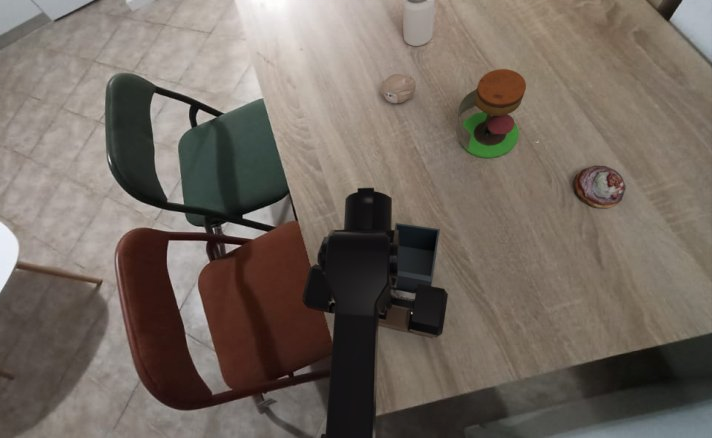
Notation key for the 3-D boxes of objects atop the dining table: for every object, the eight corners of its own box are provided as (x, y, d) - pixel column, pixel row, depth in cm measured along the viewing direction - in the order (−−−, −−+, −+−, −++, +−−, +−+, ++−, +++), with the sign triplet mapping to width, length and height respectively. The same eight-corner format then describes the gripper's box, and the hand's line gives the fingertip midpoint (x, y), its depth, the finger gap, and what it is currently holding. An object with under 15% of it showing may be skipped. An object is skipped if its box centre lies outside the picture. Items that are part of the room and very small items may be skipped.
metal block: (432, 338, 75) (433, 334, 72) (374, 325, 79) (372, 321, 75) (437, 304, 77) (438, 299, 74) (380, 293, 81) (378, 287, 77)
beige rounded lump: (392, 114, 95) (391, 90, 88) (377, 95, 98) (374, 70, 91) (420, 98, 94) (420, 73, 87) (403, 80, 97) (403, 54, 90)
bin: (425, 322, 71) (437, 245, 66) (382, 313, 74) (390, 238, 68) (431, 280, 83) (442, 212, 78) (394, 273, 86) (401, 207, 80)
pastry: (621, 212, 74) (634, 200, 70) (570, 205, 77) (579, 193, 73) (624, 171, 77) (637, 157, 72) (574, 166, 80) (583, 151, 75)
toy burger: (518, 104, 87) (537, 50, 74) (523, 159, 83) (544, 112, 70) (454, 108, 91) (461, 57, 78) (455, 161, 87) (463, 116, 73)
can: (400, 46, 101) (399, 3, 91) (407, 24, 103) (407, -20, 93) (429, 48, 99) (431, 5, 88) (436, 26, 101) (439, -19, 90)
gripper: (458, 236, 53) (448, 274, 67) (311, 214, 60) (329, 252, 73) (445, 326, 49) (437, 347, 63) (290, 292, 56) (313, 317, 70)
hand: (376, 311), depth 67 cm, fingers open, 9 cm apart
